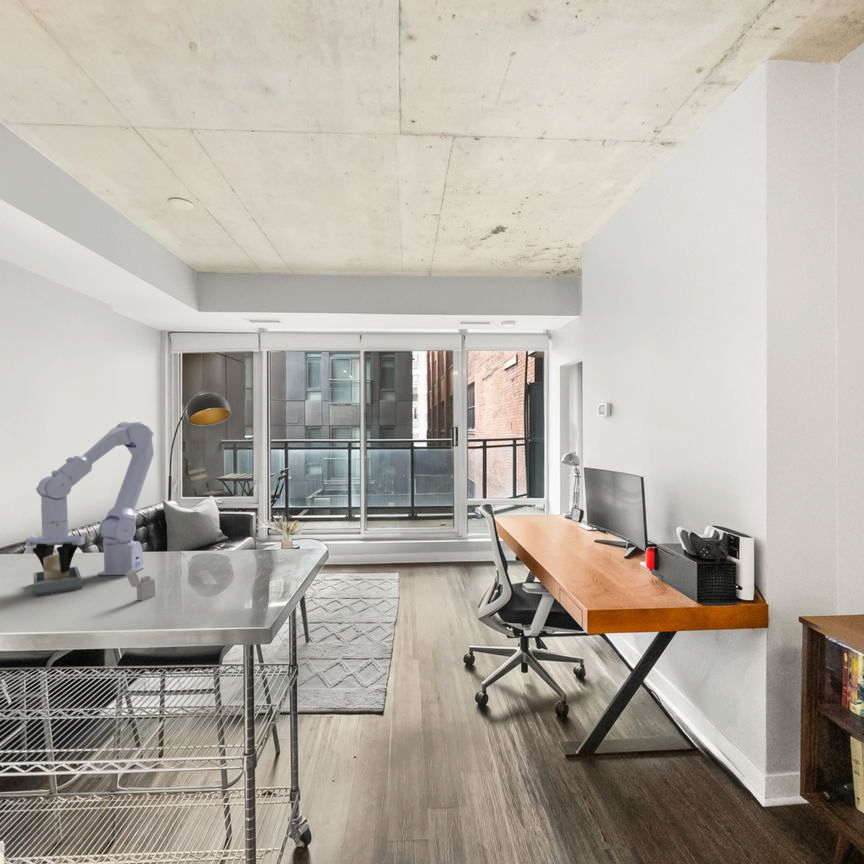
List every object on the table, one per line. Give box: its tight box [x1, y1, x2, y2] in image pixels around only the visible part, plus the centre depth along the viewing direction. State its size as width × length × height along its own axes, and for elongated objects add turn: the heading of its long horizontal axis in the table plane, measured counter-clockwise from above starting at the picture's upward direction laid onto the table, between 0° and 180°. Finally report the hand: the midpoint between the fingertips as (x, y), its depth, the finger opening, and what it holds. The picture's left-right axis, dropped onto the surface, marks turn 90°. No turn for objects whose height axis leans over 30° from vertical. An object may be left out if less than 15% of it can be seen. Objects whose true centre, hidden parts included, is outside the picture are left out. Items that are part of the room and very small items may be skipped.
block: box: [43, 553, 69, 581], centre depth 145 cm, size 4×4×6 cm
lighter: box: [124, 570, 156, 601], centre depth 133 cm, size 7×2×8 cm, turn 160°
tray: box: [33, 566, 83, 598], centre depth 145 cm, size 10×14×3 cm
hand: (56, 571), depth 145 cm, fingers closed on block, 4 cm apart
